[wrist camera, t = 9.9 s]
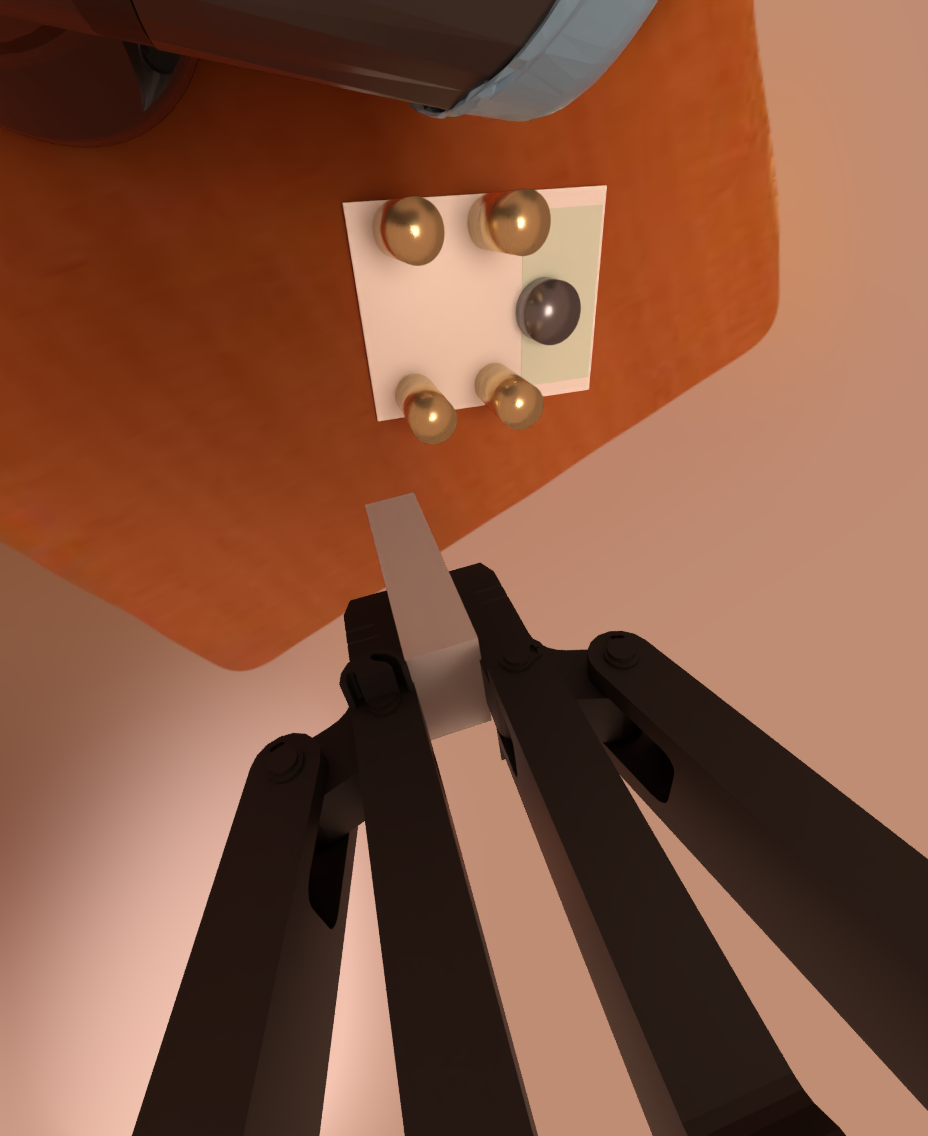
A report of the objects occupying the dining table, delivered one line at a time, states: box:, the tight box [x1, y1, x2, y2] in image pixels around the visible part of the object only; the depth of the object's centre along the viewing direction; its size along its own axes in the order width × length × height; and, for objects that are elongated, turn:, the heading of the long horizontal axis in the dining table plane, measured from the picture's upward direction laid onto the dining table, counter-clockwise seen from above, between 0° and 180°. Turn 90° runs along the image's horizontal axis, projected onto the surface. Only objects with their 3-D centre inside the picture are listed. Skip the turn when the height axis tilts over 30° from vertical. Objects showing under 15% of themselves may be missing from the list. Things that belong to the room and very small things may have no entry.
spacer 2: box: [395, 374, 457, 444], centre depth 34 cm, size 3×3×6 cm
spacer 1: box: [372, 196, 445, 266], centre depth 28 cm, size 3×3×6 cm
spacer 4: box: [475, 363, 544, 430], centre depth 35 cm, size 3×3×6 cm
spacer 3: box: [468, 189, 551, 256], centre depth 29 cm, size 3×3×6 cm
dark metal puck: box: [516, 277, 581, 345], centre depth 35 cm, size 4×4×2 cm
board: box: [342, 185, 607, 421], centre depth 35 cm, size 13×17×1 cm
